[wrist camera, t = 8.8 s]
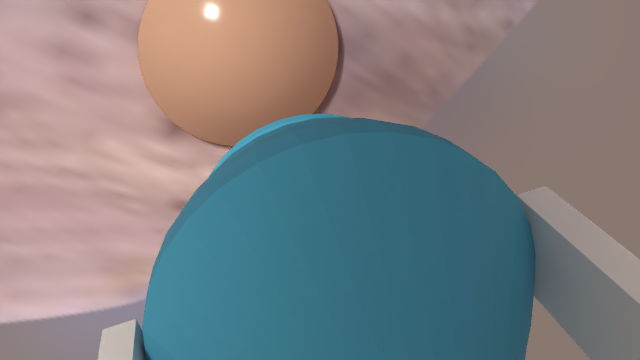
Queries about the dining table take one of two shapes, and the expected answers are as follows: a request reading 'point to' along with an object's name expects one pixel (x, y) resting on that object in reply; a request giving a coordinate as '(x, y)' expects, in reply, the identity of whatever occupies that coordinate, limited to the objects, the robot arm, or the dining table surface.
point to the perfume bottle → (344, 252)
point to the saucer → (236, 62)
